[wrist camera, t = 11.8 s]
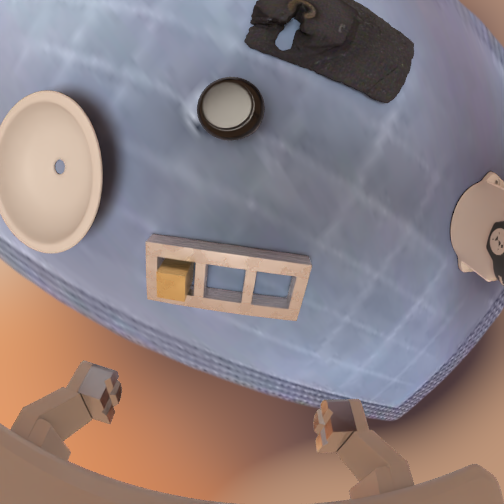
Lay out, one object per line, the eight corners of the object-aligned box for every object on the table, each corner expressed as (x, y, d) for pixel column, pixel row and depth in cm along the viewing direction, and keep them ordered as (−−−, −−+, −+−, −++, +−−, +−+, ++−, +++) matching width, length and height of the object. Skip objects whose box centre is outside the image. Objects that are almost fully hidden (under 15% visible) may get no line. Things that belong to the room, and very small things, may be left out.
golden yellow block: (194, 256, 42) (185, 276, 37) (193, 280, 44) (184, 301, 38) (168, 253, 42) (156, 272, 36) (168, 276, 44) (157, 297, 38)
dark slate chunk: (379, 122, 34) (393, 122, 29) (234, 43, 30) (231, 32, 25) (418, 45, 28) (434, 39, 23) (285, -32, 24) (288, -47, 20)
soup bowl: (58, 260, 43) (38, 277, 37) (0, 155, 35) (-24, 163, 29) (153, 186, 38) (135, 198, 32) (80, 61, 29) (55, 55, 23)
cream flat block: (308, 256, 42) (311, 265, 39) (294, 309, 46) (296, 320, 43) (152, 233, 41) (145, 241, 38) (153, 288, 45) (147, 299, 42)
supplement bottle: (273, 121, 34) (280, 118, 23) (228, 148, 36) (214, 157, 25) (245, 78, 32) (239, 56, 21) (199, 106, 33) (173, 97, 22)
